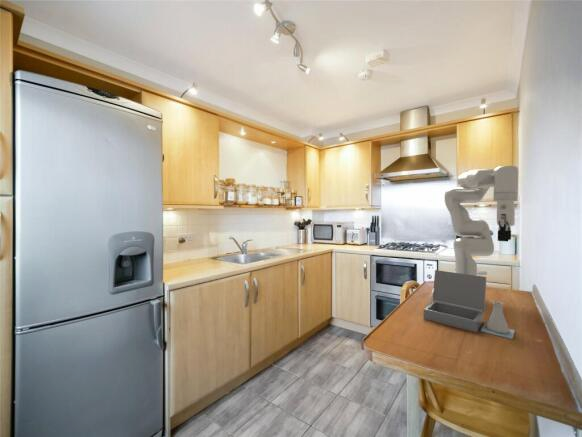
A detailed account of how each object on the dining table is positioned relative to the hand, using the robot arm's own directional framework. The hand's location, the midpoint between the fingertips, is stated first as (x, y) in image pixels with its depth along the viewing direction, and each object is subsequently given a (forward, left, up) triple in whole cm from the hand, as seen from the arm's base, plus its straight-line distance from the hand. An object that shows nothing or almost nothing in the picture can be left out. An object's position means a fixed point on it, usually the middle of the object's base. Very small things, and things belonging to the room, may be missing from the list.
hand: (504, 240), depth 105 cm
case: (+12, -15, -33) cm, 38 cm away
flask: (+12, -1, -33) cm, 35 cm away
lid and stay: (+6, -15, -30) cm, 34 cm away
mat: (+12, 0, -33) cm, 35 cm away
